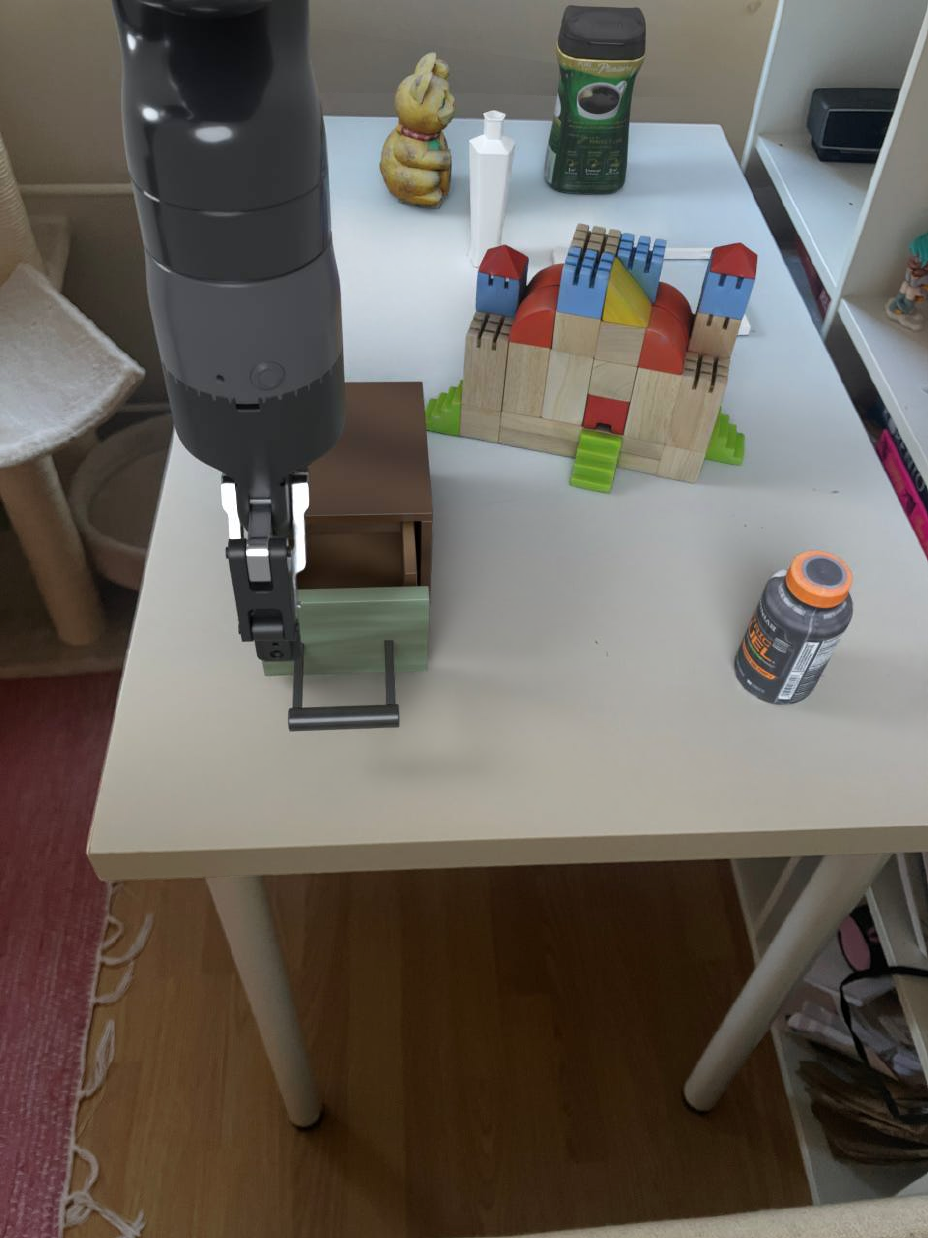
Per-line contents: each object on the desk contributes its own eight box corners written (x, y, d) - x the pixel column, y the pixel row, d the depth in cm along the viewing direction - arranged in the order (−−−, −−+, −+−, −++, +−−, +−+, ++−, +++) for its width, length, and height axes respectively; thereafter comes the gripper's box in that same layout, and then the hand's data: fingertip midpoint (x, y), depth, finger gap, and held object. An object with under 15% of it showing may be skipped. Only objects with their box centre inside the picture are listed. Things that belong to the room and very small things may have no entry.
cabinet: (430, 603, 76) (433, 513, 69) (262, 608, 75) (246, 516, 68) (421, 473, 85) (422, 380, 78) (271, 475, 84) (258, 382, 77)
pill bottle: (719, 649, 75) (761, 543, 66) (792, 636, 76) (842, 531, 67) (753, 714, 71) (801, 611, 62) (828, 700, 72) (886, 597, 63)
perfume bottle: (513, 266, 107) (526, 122, 95) (475, 272, 106) (483, 128, 94) (498, 244, 109) (509, 102, 98) (460, 250, 108) (466, 106, 97)
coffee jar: (619, 166, 122) (647, -5, 108) (627, 198, 117) (658, 25, 103) (539, 163, 122) (557, -8, 107) (544, 196, 117) (564, 21, 102)
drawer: (432, 752, 67) (435, 683, 61) (259, 759, 66) (244, 690, 60) (418, 534, 80) (419, 459, 74) (273, 537, 79) (262, 462, 73)
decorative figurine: (451, 220, 112) (456, 79, 101) (377, 216, 112) (374, 74, 100) (452, 177, 118) (457, 40, 107) (382, 174, 118) (380, 36, 106)
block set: (409, 454, 87) (410, 250, 72) (449, 360, 96) (458, 160, 81) (735, 520, 84) (807, 319, 69) (745, 415, 92) (811, 218, 78)
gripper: (175, 241, 45) (221, 501, 58) (135, 450, 36) (200, 704, 49) (342, 243, 46) (352, 499, 59) (343, 449, 37) (354, 699, 50)
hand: (283, 592), depth 54 cm, fingers open, 8 cm apart
